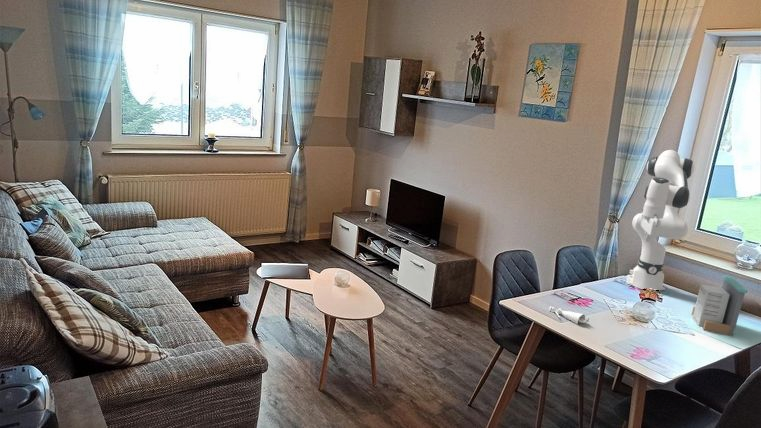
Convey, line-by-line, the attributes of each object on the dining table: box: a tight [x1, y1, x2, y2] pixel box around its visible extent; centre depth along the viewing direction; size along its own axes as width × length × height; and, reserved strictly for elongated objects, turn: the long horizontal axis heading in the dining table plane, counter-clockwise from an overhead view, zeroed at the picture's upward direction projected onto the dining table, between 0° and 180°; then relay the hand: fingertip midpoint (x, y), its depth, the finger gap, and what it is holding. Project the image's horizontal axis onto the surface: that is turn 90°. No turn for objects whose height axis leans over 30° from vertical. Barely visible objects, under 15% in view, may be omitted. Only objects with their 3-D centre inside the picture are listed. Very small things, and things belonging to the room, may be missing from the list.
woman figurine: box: [548, 306, 590, 325], centre depth 232 cm, size 12×4×18 cm
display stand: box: [691, 274, 748, 336], centre depth 240 cm, size 19×12×21 cm, turn 166°
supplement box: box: [692, 284, 730, 328], centre depth 240 cm, size 10×9×17 cm
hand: (646, 241), depth 252 cm, fingers closed
